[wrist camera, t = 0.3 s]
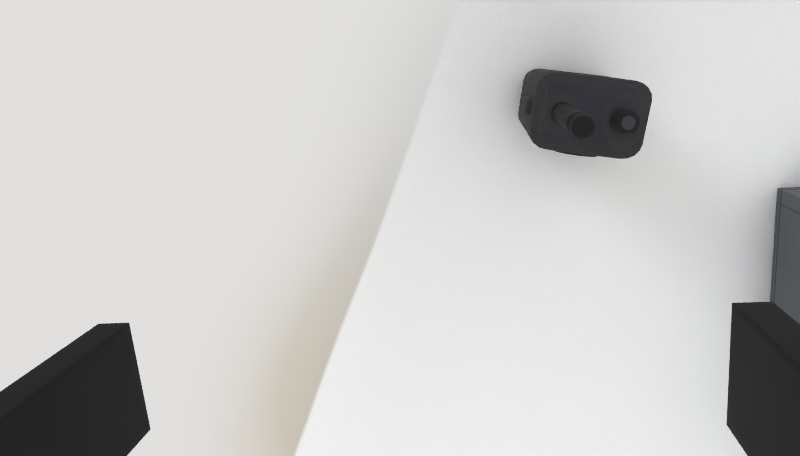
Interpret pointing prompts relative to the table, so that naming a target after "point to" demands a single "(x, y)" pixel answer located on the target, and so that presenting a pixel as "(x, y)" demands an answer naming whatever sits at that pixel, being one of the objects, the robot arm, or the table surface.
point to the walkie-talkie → (584, 113)
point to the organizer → (787, 253)
